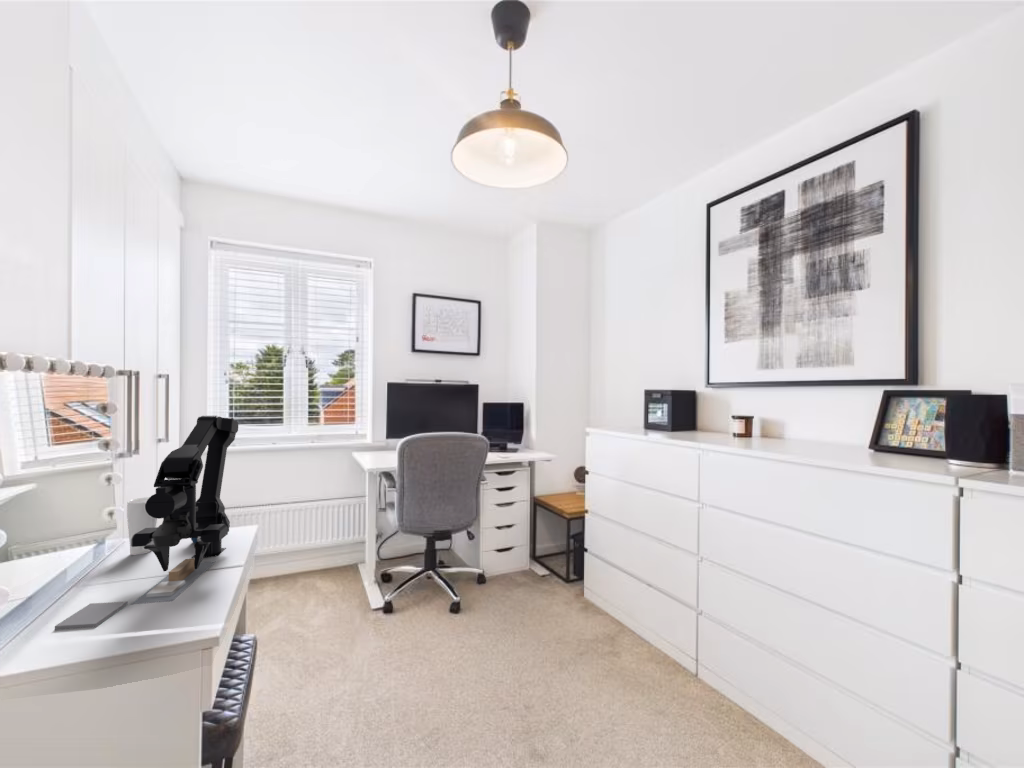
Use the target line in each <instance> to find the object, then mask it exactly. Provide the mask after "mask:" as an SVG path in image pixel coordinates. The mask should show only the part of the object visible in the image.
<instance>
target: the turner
mask: <svg viewBox="0 0 1024 768" xmlns="http://www.w3.org/2000/svg"><path fill="white" fill-rule="evenodd" d="M194 561H195V558H194V557H193V558H185V559H183V561H181V562H179V564H177V565H176V566H175V567H174V568H172V569H171V570H170V571H168V575H169V581H168V582H161V583H159V584H158V585H157V586H156V587H154V588H153V589H152V590H151V591H149V592H148V593H147V594H146V597H157V596H170V595H173V594H174V593H175V592H176V591H177V590H178V589H180V588H181V587H182V586H183V585H184V584H185V580H184V579H185V578H186V577H187V576H188V575H189V574H191V573H192V572H193V571H194V570H195V566H194Z"/></svg>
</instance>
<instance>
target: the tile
mask: <svg viewBox="0 0 1024 768" xmlns="http://www.w3.org/2000/svg"><path fill="white" fill-rule="evenodd" d="M127 605H128V601H113V602H111V601H109V602H93V603H90V602H89V604H87V605H86V606H84V607H83V608H81V609H79V610H78V611H76V612H75V613H73V614H72V615H70V616H69V617H67V618H65V619H63V621H61V622H59V623H57V624H56V625H55V626H54V631H59V630H62V631H63V630H77V629H90V628H97V627H99V625H102V623H104V622H105V621H106V620H108V619H110V618H111V617H112V616H113V615H116V613H118V612H119V611H120V610H122V609H123V608H125V607H126V606H127Z"/></svg>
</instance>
